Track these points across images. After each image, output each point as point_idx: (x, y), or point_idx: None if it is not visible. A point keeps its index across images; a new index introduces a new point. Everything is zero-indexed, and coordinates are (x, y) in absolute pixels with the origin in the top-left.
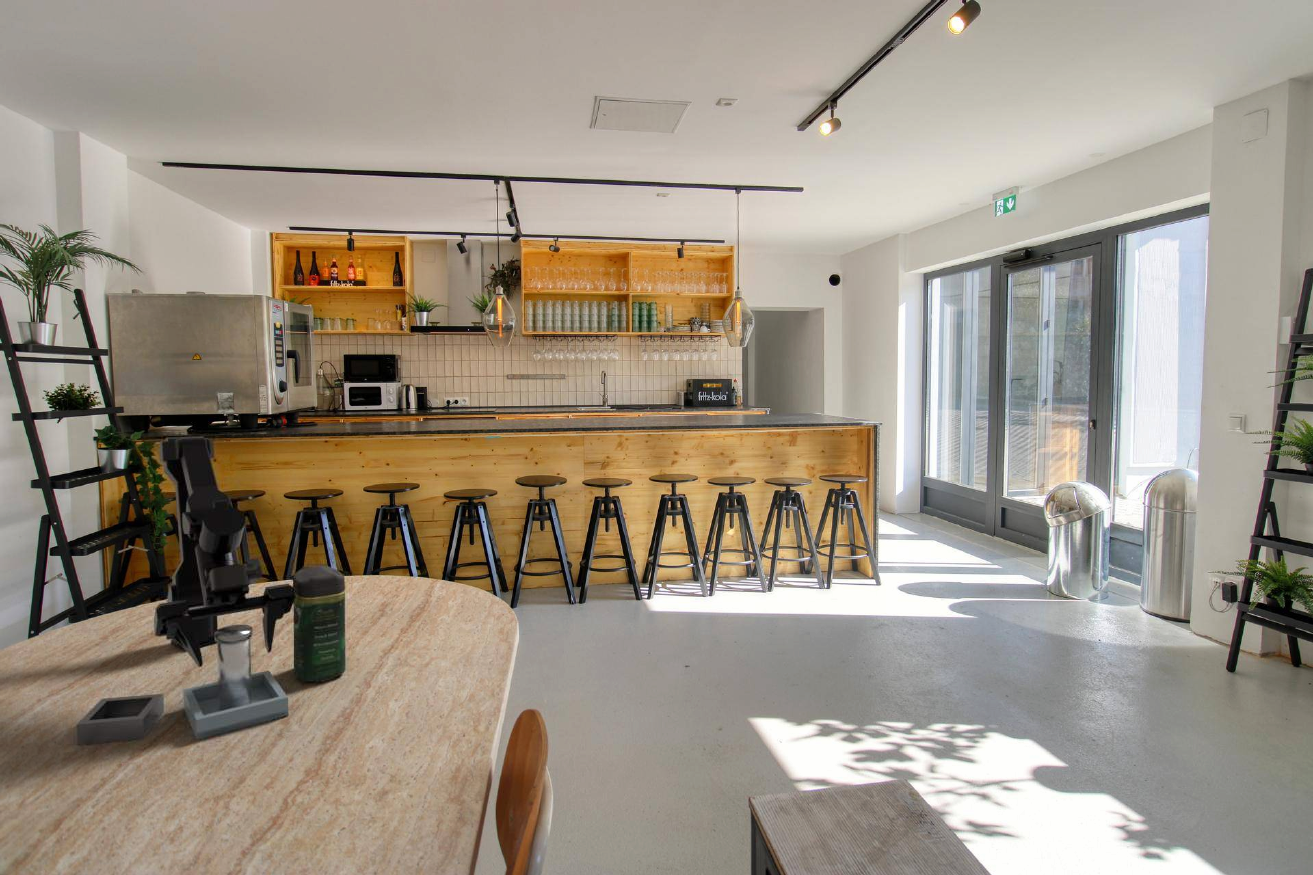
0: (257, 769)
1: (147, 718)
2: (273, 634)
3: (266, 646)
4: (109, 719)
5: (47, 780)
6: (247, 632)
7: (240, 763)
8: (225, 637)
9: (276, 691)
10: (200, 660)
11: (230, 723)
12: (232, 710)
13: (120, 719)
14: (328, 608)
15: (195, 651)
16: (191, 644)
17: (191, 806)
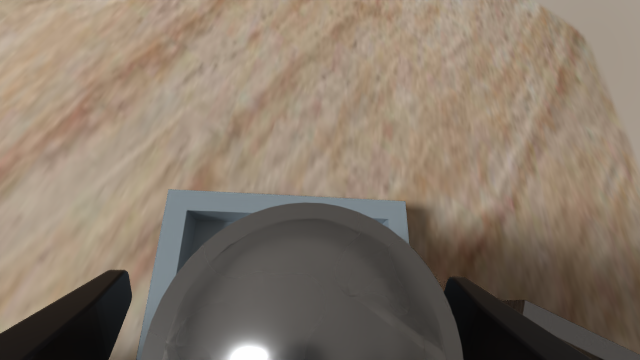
0: (310, 43)
1: None
2: (15, 325)
3: (112, 330)
4: (605, 353)
5: (619, 224)
6: (227, 230)
7: (329, 76)
8: (390, 229)
9: (177, 253)
10: (466, 283)
11: None
12: (320, 200)
13: (578, 333)
14: None
15: (519, 317)
16: (577, 351)
17: (408, 15)
